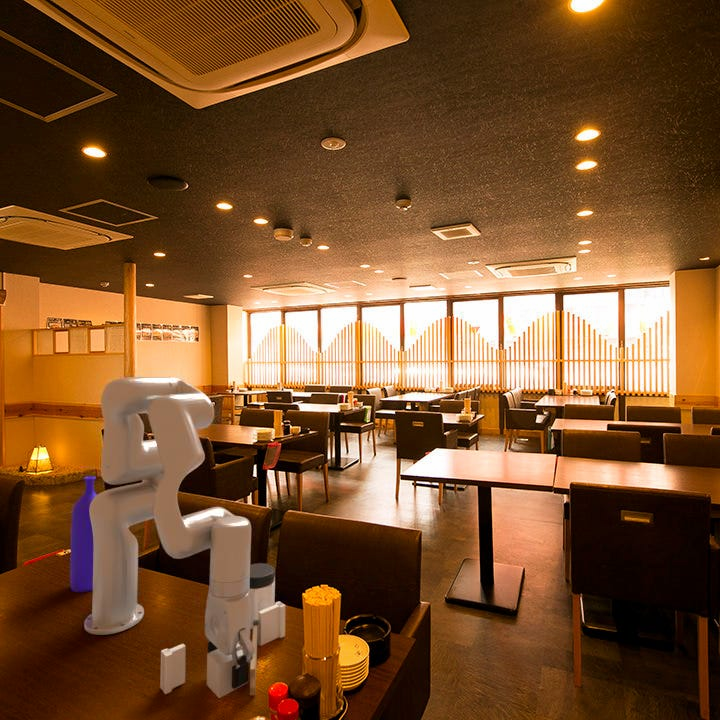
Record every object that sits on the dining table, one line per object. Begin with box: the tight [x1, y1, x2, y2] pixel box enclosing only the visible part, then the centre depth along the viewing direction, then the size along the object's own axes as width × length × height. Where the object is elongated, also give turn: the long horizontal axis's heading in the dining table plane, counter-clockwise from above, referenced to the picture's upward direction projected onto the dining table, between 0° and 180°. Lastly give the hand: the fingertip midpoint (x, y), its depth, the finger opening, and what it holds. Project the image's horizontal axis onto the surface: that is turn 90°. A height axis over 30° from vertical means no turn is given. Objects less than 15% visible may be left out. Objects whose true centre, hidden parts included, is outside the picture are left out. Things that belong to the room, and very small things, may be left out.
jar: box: [248, 562, 276, 630], centre depth 111 cm, size 9×8×12 cm
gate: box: [249, 620, 259, 696], centre depth 93 cm, size 1×16×5 cm, turn 11°
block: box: [206, 643, 249, 699], centre depth 89 cm, size 5×6×6 cm
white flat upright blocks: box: [159, 601, 286, 695], centre depth 96 cm, size 2×27×7 cm, turn 134°
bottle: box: [69, 475, 98, 593], centre depth 127 cm, size 8×8×30 cm
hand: (227, 671), depth 89 cm, fingers open, 9 cm apart
